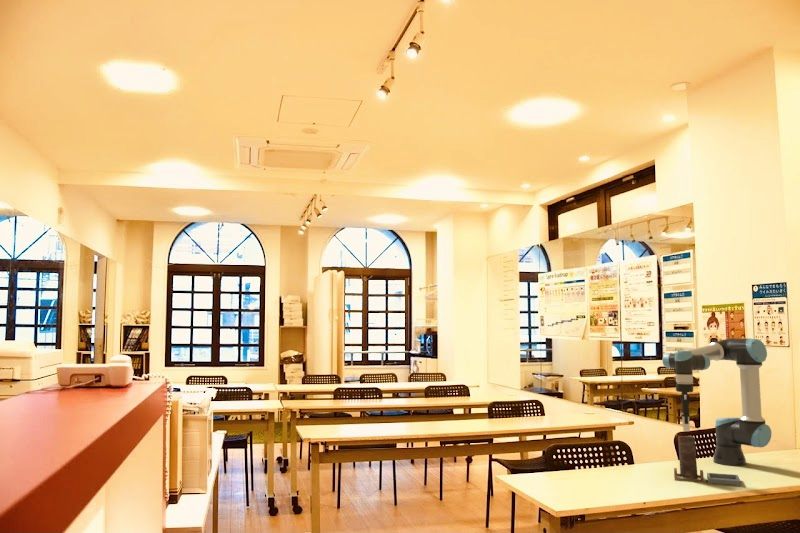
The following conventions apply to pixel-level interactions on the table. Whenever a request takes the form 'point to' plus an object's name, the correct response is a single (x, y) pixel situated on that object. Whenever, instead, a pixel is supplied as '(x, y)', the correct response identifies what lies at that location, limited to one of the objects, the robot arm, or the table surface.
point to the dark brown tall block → (687, 457)
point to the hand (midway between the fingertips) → (686, 428)
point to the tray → (723, 479)
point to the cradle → (687, 478)
